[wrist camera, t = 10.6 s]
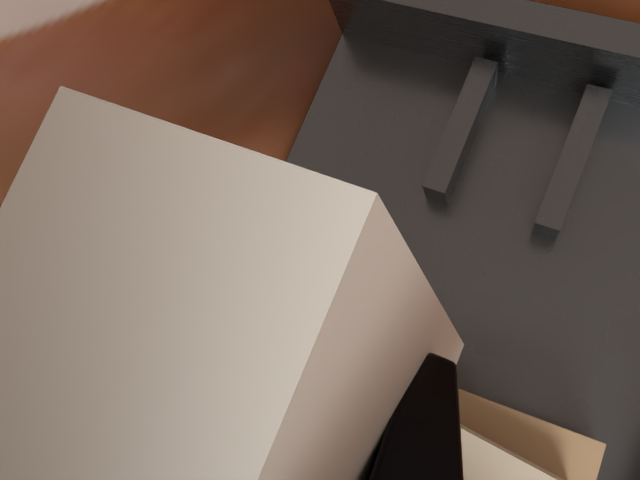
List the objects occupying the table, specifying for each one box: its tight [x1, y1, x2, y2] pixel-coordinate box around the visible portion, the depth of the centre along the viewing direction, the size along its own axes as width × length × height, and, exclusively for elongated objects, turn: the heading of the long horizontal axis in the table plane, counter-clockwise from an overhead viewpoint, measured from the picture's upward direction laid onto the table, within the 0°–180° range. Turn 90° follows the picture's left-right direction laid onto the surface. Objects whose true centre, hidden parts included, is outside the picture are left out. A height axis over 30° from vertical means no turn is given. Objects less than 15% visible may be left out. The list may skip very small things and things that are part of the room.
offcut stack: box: [458, 389, 606, 480], centre depth 18 cm, size 7×11×4 cm, turn 66°
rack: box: [286, 0, 640, 480], centre depth 20 cm, size 20×16×4 cm
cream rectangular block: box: [0, 86, 464, 480], centre depth 9 cm, size 4×2×12 cm, turn 156°
